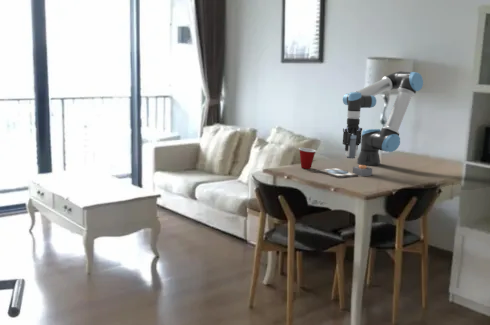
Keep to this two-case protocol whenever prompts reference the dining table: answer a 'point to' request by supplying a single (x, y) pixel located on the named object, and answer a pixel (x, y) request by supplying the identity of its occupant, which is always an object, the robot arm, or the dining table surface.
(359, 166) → the button
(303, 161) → the plastic cup
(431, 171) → the dining table surface
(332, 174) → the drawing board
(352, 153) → the grey tall block
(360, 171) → the button housing
